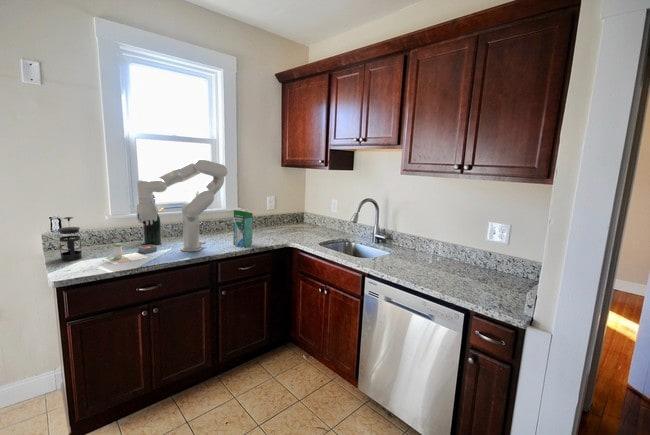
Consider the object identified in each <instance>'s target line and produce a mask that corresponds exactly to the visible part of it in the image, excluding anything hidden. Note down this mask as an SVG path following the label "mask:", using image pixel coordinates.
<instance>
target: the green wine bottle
mask: <svg viewBox="0 0 650 435" xmlns="http://www.w3.org/2000/svg"><path fill="white" fill-rule="evenodd" d="M153 198H155V200H154V203H155V204H156V197H155V194H153ZM161 222H162V221H161V217H160V215H159V212H157V221H154V222H153V224H152V232H147V231H146V229H145V225H144V224H143V223H142V224H143V230H142V231H143V244H144V245H153V246H157V245H160V244H161V243H162V227H161V226H162V224H161Z"/></svg>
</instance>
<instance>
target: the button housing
mask: <svg viewBox="0 0 650 435" xmlns="http://www.w3.org/2000/svg"><path fill="white" fill-rule="evenodd" d="M146 246H151V247H149V248H144V247H146ZM137 248H138V253H143V254H151V253H155V252H157V249H158V248H157V245H146V244H144V245H140V246H138V247H137Z"/></svg>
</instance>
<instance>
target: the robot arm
mask: <svg viewBox="0 0 650 435" xmlns="http://www.w3.org/2000/svg"><path fill="white" fill-rule="evenodd" d="M200 174H203V175H208V176H210V178H209V180H208V181H207V182H206V183H205V184H204V185H203V186H202V187H201V188H200V189H199V190H197V191H196V194H195V197H193V199H189V200H186V201H184V202H183V203H182V208H181V213H182V235H183V236H182V237H183V240H182V242H183V246H181V247H180V251H183V252H198V251H201V250H202V248H203V247H202V245H206V243H207V242H206V241H205V240H204V241H201V240H200V215H202V214H203V213H204V212H205V210H207V209H208V207H210V206H211V205H212V204H213V202H214V201H215V195H216V194H217V193H218V192H219V191H220V190H221V189H222V188H223V186H224V183H225V177H226V176H227V175H228V168H227V166H225V165H224V164H221V163H218V162H213V161H211V160H207V159H204V158H196V159H193V160H192V161H190V162H188V163H186V164H183V165H182V166H180V167H177V168H176V169H174V170H172V171H170V172H168V173H165V174H163V175H162V176H159V177H157V178H155V179H154V180H150V179H140V180H137V182H136V183H137V185H136V186H137V196H138V203H137V205H136V220H138V221H137V223H139V224H144V225H145V229H146V231H147V232H152V224H153V222H154V221H157V213H158V210H157V206H156V202H155V203H154V200H155V201H156V197H155V198H153V195H154V193H164V192H166V190H167V189H168V187H171V186H173V185H176V184H178V183H182V182H186V181H188V180H190V179H191V178H193V177H195V176H197V175H200Z"/></svg>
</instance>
